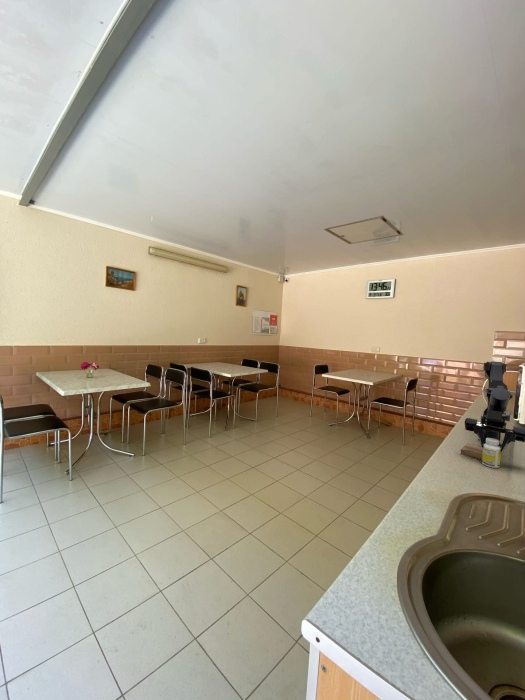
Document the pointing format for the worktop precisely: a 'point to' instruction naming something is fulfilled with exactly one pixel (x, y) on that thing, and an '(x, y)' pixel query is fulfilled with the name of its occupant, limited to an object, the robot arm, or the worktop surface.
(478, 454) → the dock
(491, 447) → the supplement bottle
